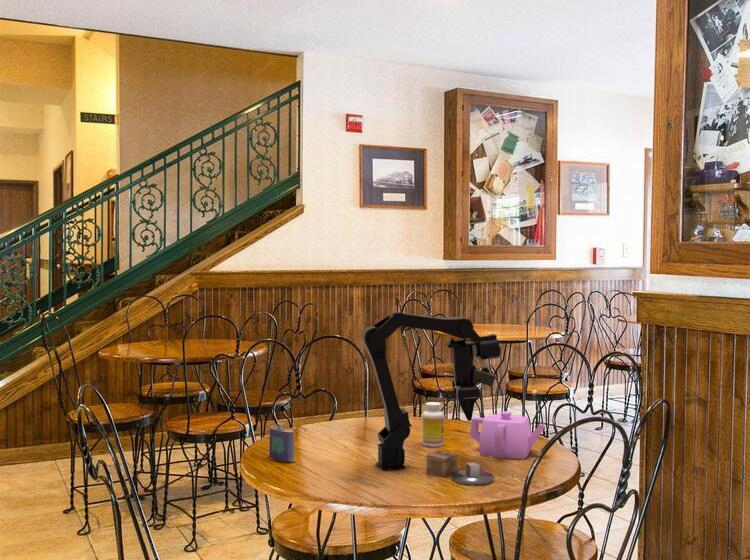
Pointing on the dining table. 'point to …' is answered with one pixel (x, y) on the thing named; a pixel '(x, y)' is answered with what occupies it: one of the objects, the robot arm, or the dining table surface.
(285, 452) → the flask
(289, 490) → the dining table surface
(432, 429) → the supplement bottle
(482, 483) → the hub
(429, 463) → the drawer-style box
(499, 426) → the teakettle
